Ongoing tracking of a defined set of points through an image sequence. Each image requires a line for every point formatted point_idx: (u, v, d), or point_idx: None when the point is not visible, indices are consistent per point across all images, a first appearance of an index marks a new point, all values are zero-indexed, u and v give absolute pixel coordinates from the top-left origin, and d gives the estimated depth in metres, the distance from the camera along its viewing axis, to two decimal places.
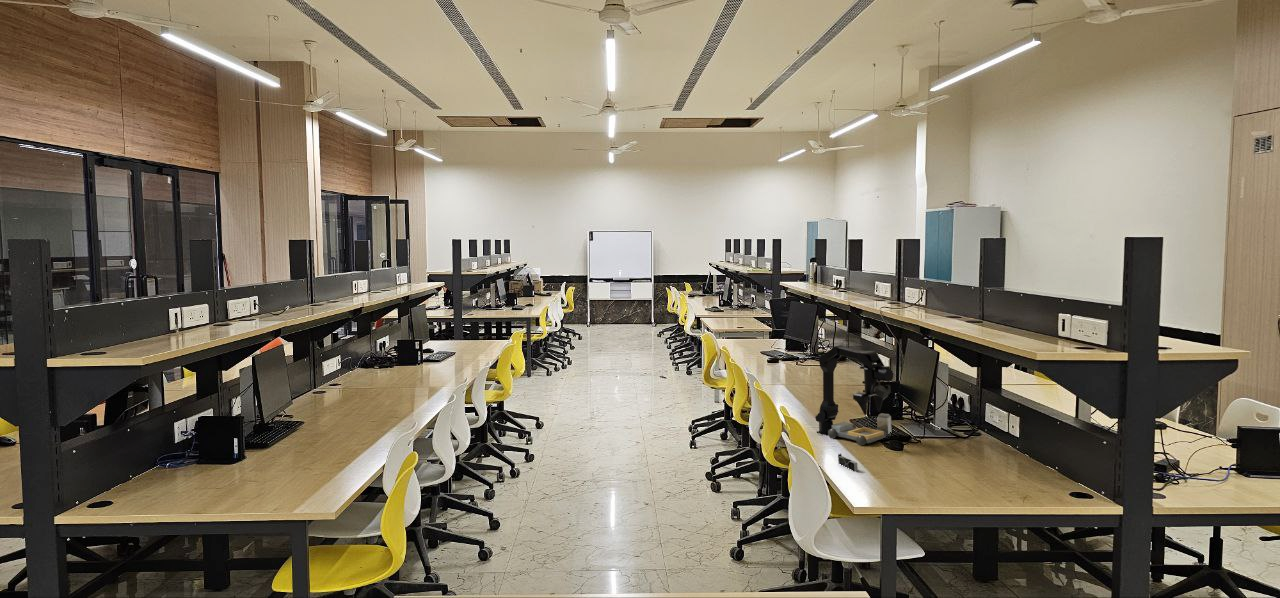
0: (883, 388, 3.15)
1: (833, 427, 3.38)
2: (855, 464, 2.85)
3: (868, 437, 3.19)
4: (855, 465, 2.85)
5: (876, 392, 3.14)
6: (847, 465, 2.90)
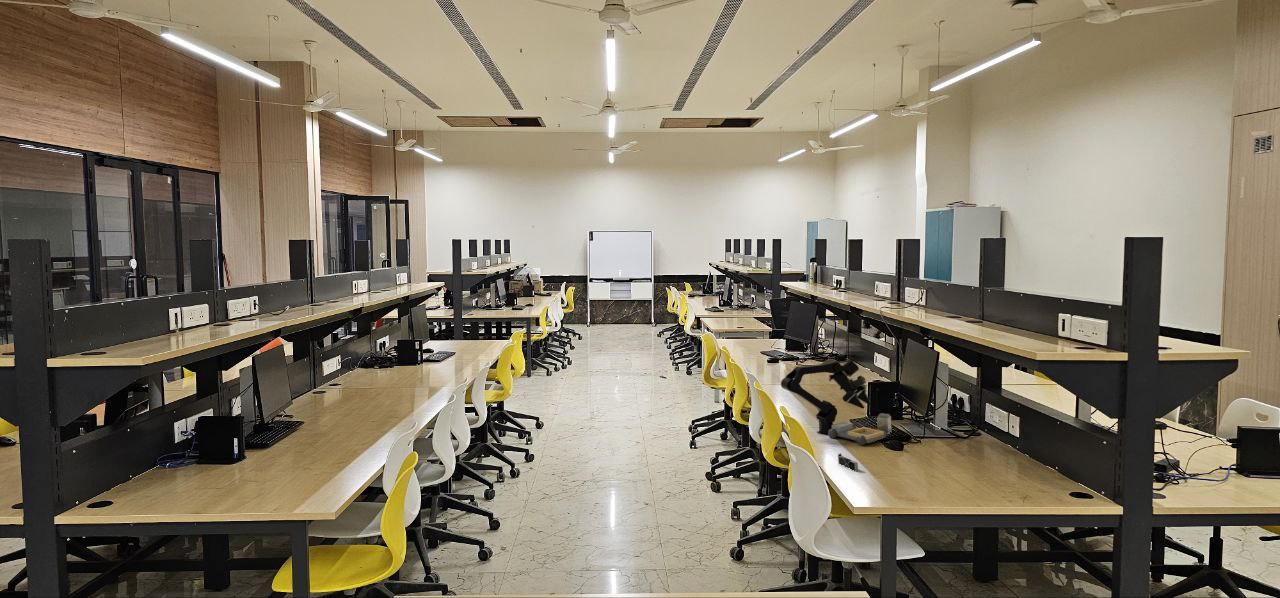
0: (858, 379, 3.41)
1: (833, 427, 3.38)
2: (855, 464, 2.85)
3: (868, 437, 3.19)
4: (855, 465, 2.85)
5: (856, 384, 3.39)
6: (847, 465, 2.90)
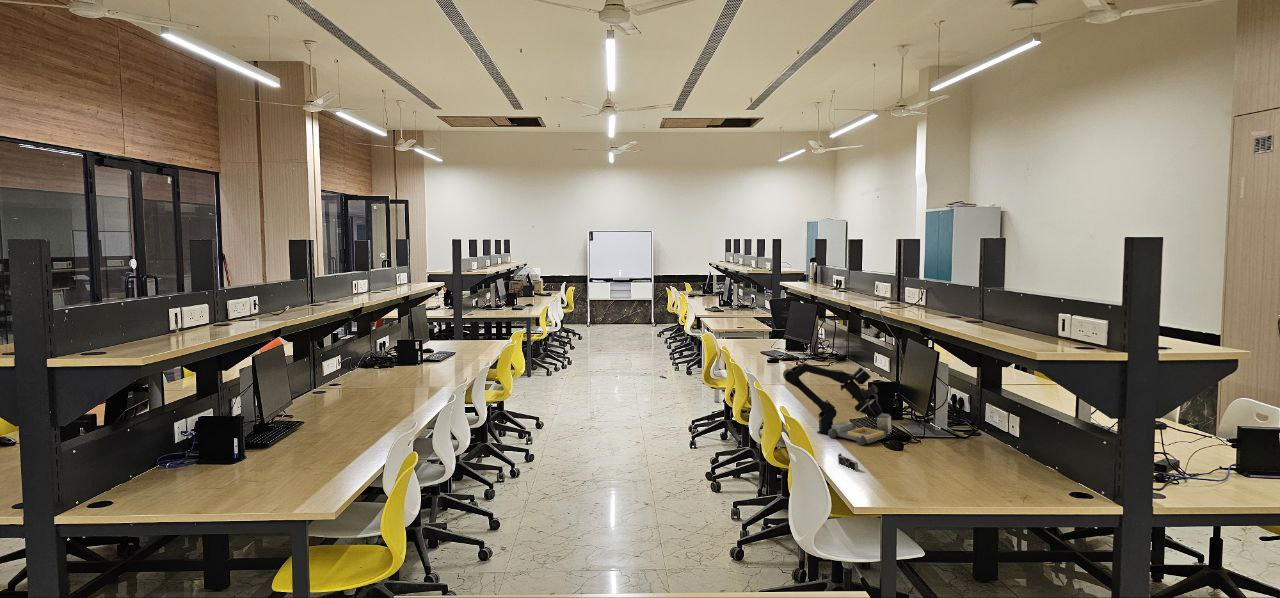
0: (870, 388, 3.38)
1: (833, 427, 3.38)
2: (856, 464, 2.85)
3: (868, 437, 3.19)
4: (856, 465, 2.85)
5: (868, 393, 3.36)
6: (847, 465, 2.90)
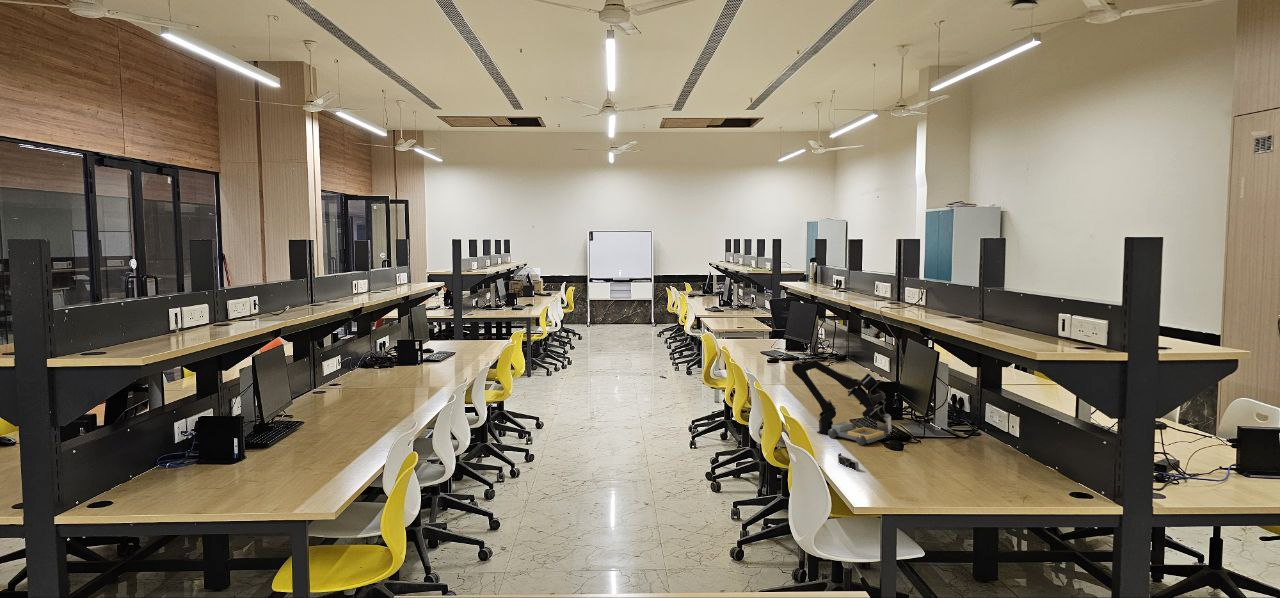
0: (877, 394, 3.36)
1: (833, 427, 3.38)
2: (856, 463, 2.86)
3: (868, 437, 3.19)
4: (856, 464, 2.86)
5: (876, 399, 3.34)
6: (848, 465, 2.90)
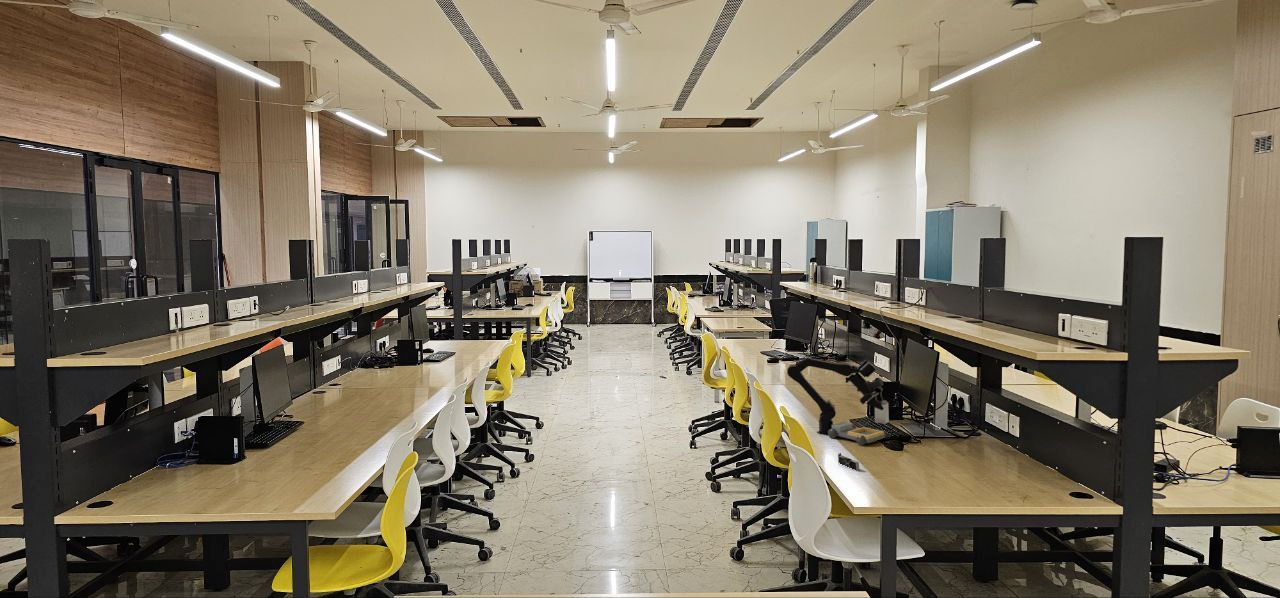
0: (875, 380, 3.35)
1: (833, 427, 3.38)
2: (857, 463, 2.86)
3: (868, 437, 3.19)
4: (857, 464, 2.86)
5: (873, 386, 3.32)
6: (848, 464, 2.90)
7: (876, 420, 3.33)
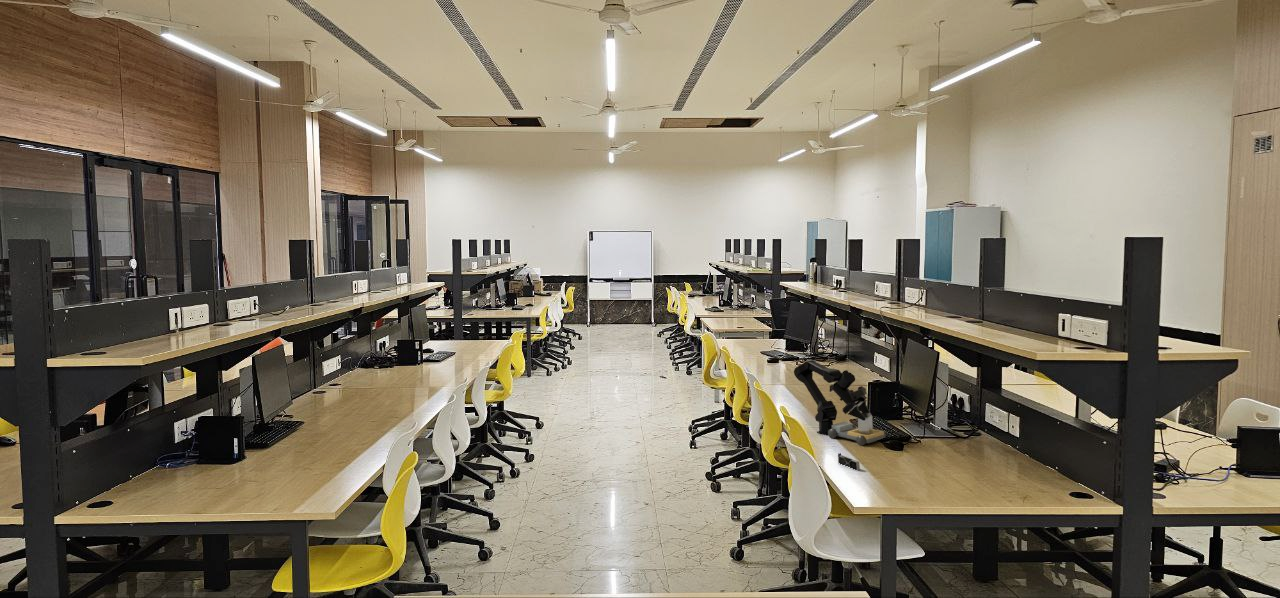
0: (858, 389, 3.28)
1: (833, 427, 3.38)
2: (857, 463, 2.86)
3: (868, 437, 3.19)
4: (857, 464, 2.86)
5: (856, 395, 3.25)
6: (848, 464, 2.91)
7: (860, 433, 3.26)
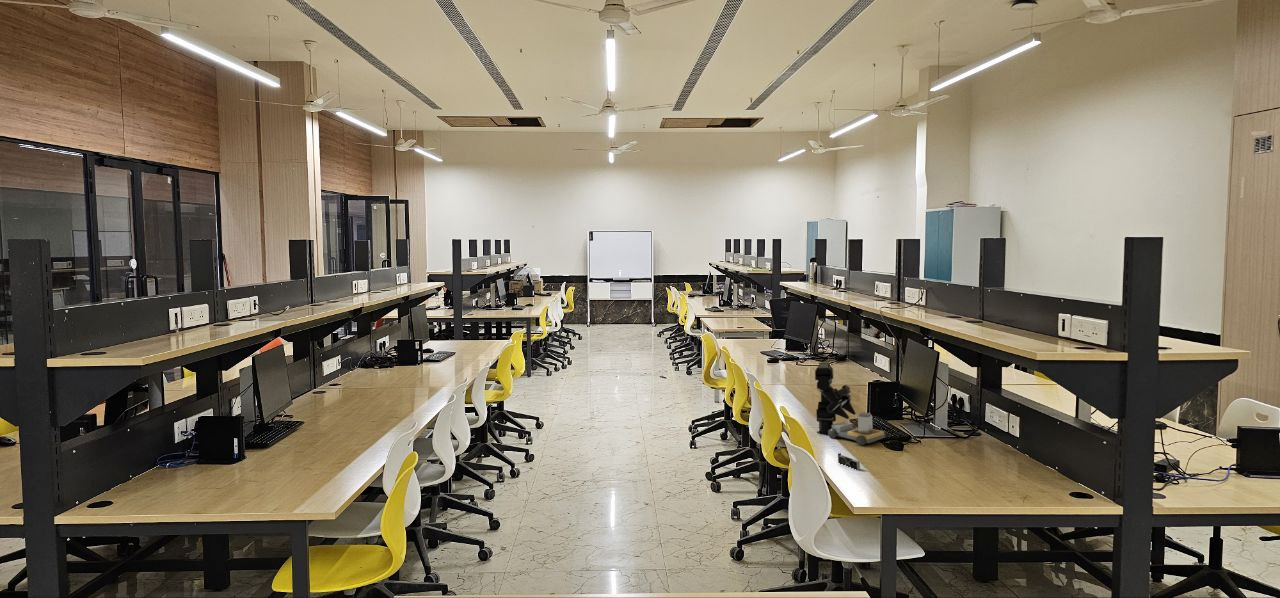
0: (842, 388, 3.33)
1: (833, 427, 3.38)
2: (858, 463, 2.86)
3: (868, 437, 3.19)
4: (858, 464, 2.86)
5: (840, 394, 3.30)
6: (848, 464, 2.91)
7: (860, 433, 3.26)
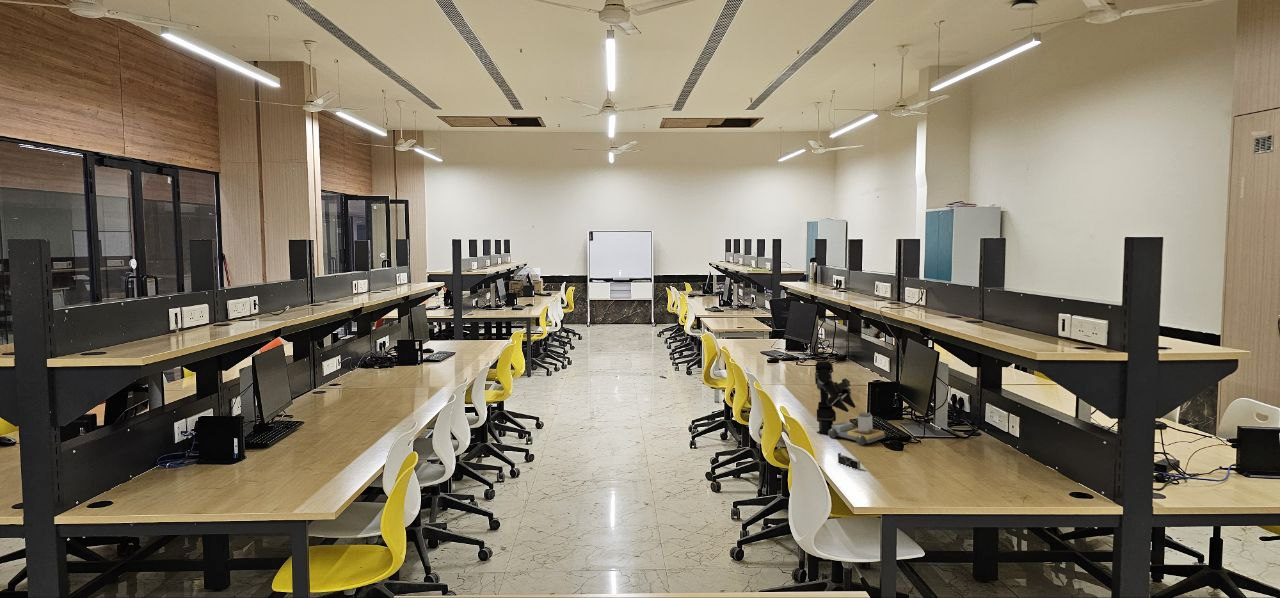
0: (842, 381, 3.36)
1: (833, 427, 3.38)
2: (858, 462, 2.87)
3: (868, 437, 3.19)
4: (858, 463, 2.87)
5: (840, 387, 3.33)
6: (849, 464, 2.91)
7: (860, 433, 3.26)
